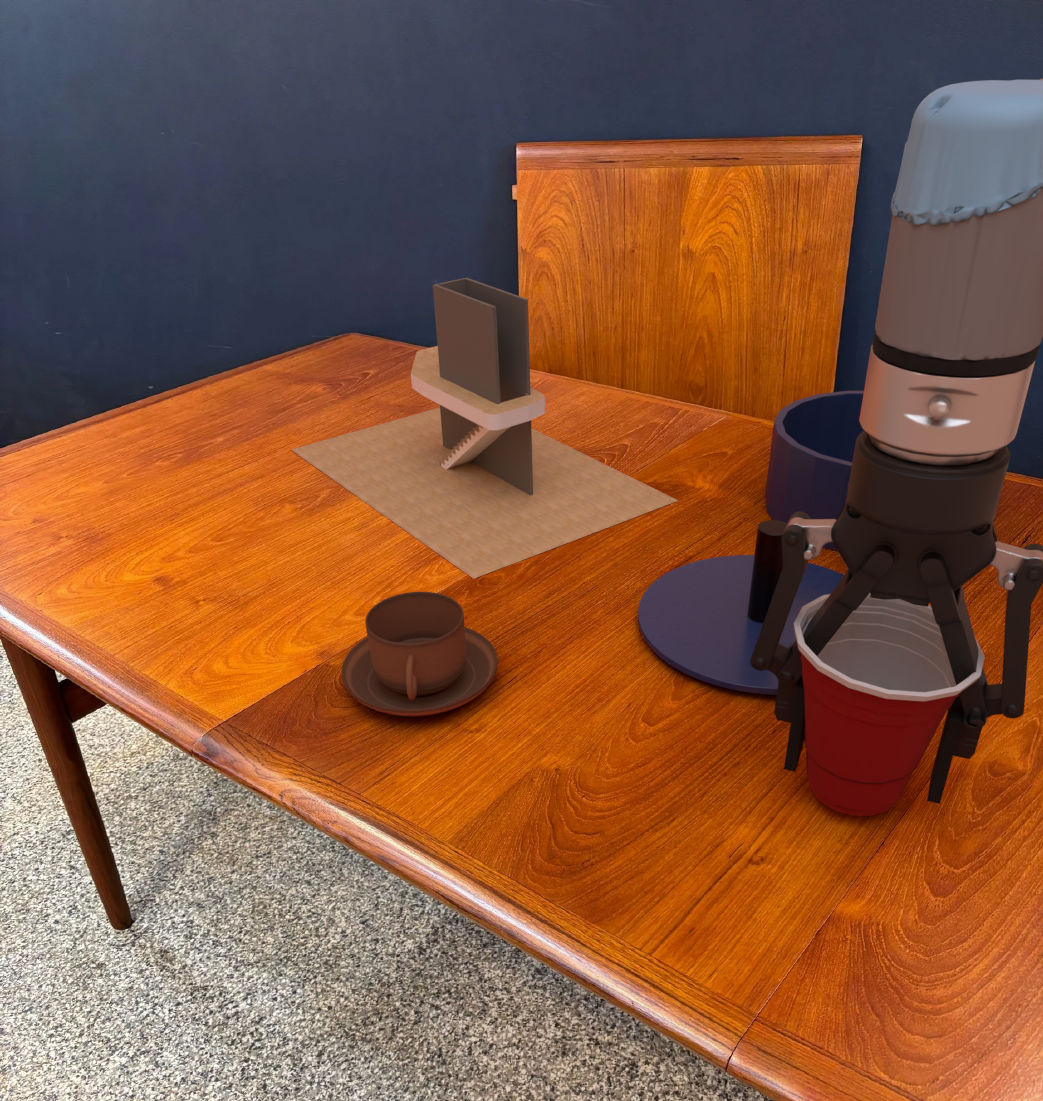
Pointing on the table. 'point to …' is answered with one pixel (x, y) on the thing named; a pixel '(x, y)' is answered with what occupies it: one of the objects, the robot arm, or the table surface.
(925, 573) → the robot arm
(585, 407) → the table surface
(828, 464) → the pot
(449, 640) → the cup and saucer
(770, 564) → the pot lid
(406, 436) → the architectural model
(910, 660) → the plastic cup
